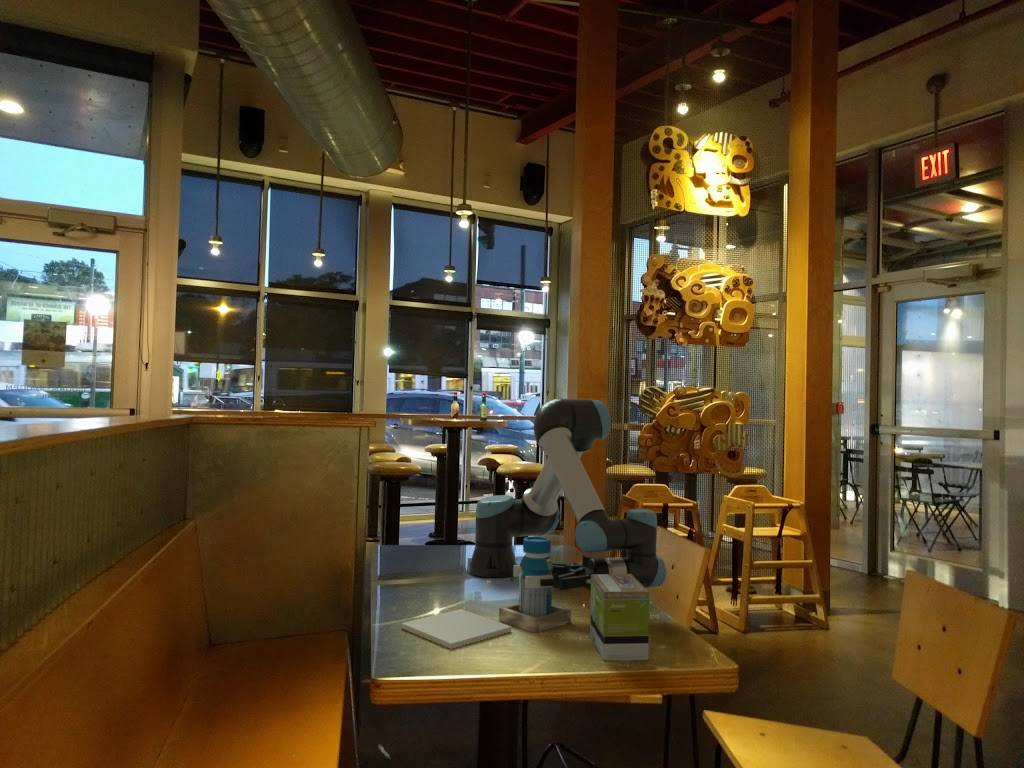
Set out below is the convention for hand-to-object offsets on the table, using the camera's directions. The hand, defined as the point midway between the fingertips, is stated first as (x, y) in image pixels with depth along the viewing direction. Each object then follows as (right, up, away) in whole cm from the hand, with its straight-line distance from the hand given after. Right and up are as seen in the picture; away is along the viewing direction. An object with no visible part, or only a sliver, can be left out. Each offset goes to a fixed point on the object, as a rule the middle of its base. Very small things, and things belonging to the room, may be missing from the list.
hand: (519, 576), depth 172 cm
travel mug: (+22, -13, +37) cm, 45 cm away
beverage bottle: (+4, -11, +1) cm, 12 cm away
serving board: (-15, -10, -8) cm, 20 cm away
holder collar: (+4, -11, +1) cm, 12 cm away
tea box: (+21, -11, -17) cm, 30 cm away
